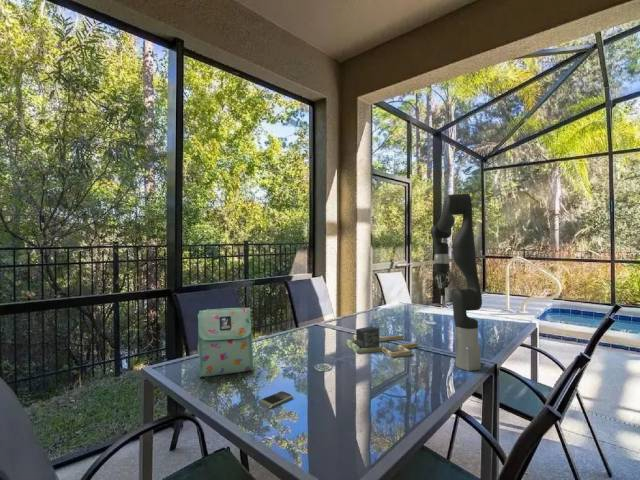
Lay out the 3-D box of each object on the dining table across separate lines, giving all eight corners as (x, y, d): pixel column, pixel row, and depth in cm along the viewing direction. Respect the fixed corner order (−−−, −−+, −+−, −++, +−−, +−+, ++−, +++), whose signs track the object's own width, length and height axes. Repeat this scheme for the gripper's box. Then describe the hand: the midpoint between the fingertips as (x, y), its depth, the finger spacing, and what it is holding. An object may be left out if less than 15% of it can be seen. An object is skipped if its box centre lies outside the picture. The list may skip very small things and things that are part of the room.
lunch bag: (196, 380, 138) (195, 313, 138) (199, 366, 154) (198, 306, 154) (254, 373, 144) (253, 309, 145) (251, 361, 160) (250, 303, 160)
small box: (371, 345, 181) (371, 325, 182) (380, 348, 176) (379, 327, 176) (355, 349, 176) (355, 328, 176) (364, 352, 170) (363, 331, 170)
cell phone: (294, 399, 120) (294, 395, 120) (269, 410, 112) (269, 406, 112) (282, 394, 125) (282, 390, 125) (257, 404, 117) (257, 400, 117)
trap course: (429, 353, 167) (429, 347, 167) (365, 360, 158) (365, 353, 158) (393, 334, 203) (393, 329, 203) (339, 339, 194) (339, 334, 194)
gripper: (428, 262, 188) (429, 294, 187) (442, 262, 175) (443, 297, 174) (440, 262, 190) (441, 294, 188) (455, 262, 177) (456, 296, 176)
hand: (442, 295), depth 181 cm, fingers closed
